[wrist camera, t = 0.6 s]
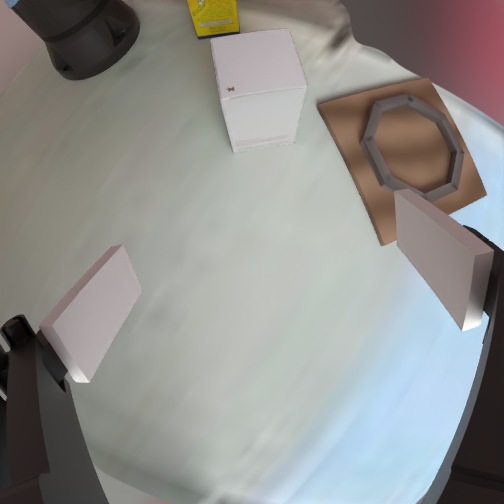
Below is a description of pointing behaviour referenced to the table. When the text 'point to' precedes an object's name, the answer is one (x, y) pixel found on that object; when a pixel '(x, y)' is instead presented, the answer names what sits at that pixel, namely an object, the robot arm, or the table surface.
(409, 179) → the mount plate
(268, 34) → the supplement box
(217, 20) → the supplement box
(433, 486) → the robot arm
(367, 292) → the table surface
